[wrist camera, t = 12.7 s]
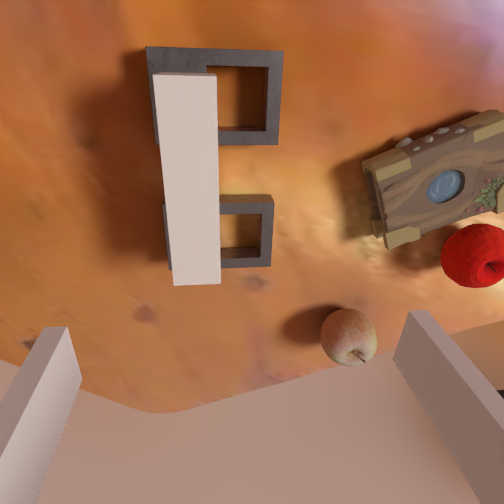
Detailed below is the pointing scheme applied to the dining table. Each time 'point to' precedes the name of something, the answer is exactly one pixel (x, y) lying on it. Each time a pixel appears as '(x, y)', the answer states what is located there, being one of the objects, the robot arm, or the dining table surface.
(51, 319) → the dining table surface
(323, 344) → the fruit
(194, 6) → the dining table surface
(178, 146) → the bar
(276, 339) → the dining table surface
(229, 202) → the keyhole plates
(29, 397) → the robot arm
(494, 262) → the apple
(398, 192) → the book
